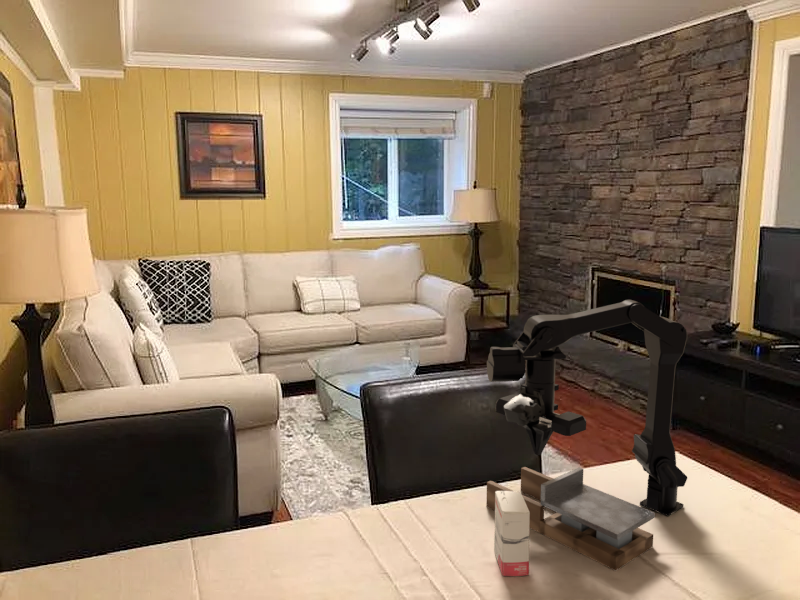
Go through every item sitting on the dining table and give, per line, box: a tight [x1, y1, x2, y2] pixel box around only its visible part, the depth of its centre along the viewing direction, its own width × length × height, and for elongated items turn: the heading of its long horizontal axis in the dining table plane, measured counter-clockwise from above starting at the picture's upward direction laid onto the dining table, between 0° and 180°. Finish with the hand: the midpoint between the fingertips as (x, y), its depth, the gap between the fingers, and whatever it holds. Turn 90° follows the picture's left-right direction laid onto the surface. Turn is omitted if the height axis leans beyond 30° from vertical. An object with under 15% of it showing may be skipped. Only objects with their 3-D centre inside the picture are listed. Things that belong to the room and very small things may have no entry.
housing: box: [485, 466, 654, 571], centre depth 129 cm, size 12×31×5 cm, turn 39°
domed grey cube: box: [596, 531, 632, 549], centre depth 120 cm, size 4×4×6 cm
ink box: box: [493, 490, 530, 577], centre depth 115 cm, size 9×5×12 cm, turn 1°
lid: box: [540, 466, 656, 540], centre depth 122 cm, size 12×17×4 cm
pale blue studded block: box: [561, 515, 590, 532], centre depth 126 cm, size 4×4×6 cm
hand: (537, 454), depth 132 cm, fingers closed
